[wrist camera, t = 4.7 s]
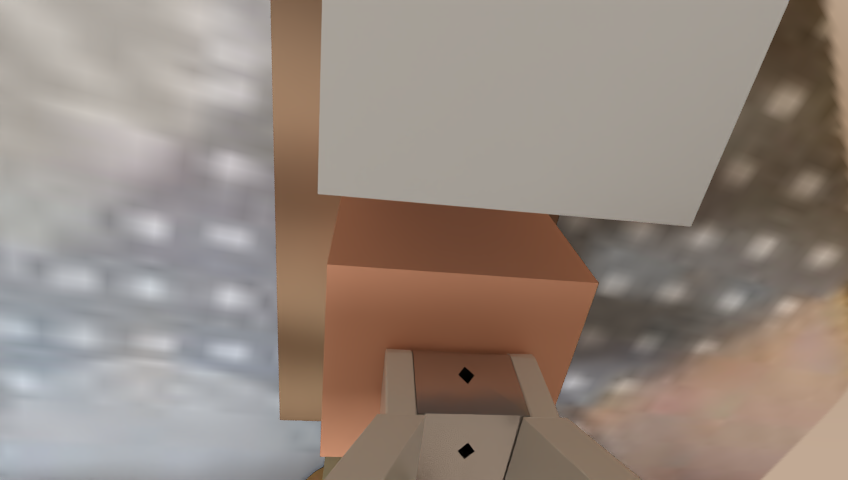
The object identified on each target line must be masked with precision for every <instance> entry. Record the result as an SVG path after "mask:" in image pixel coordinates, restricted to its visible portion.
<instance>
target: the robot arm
mask: <svg viewBox="0 0 848 480" xmlns="http://www.w3.org/2000/svg"><path fill="white" fill-rule="evenodd" d="M324 480H642V479H640V478H639V477H638V476H637V475H636V474H634V473H633V472H632V471H631V470H630V469H628V468H627V467H626V466H625V465H624V464H622V463H621V462H620V461H619V460H618V459H616V458H615V457H614V456H613V455H611V454H610V453H609V452H608V451H607V450H605V449H604V448H603V447H602V446H601V445H599V444H598V443H597V442H596V441H595V440H593V439H592V438H591V437H590V436H589V435H587V434H586V433H585V432H584V431H583V430H581V429H580V428H579V427H578V426H577V425H575V424H574V423H573V422H572V421H571V420H569V419H568V418H560V417H559V414H558V412H557V409H556V407H555V404H554V402H553V400H552V397H551V395H550V392H549V390H548V387H547V385H546V383H545V380H544V378H543V375H542V373H541V370H540V368H539V366H538V363H537V361H536V358H535V357H534V356H533V355H532V354H490V353H458V352H441V351H425V350H412V351H411V350H400V349H386V351H385V358H384V369H383V379H382V390H381V404H380V414H377V415H376V416H375V418H374V419H373V420H372V421H371V423H370V424H369V425H368V426H367V427H366V429H365V430H364V431H363V432H362V434H361V435H360V436H359V437H358V439H357V440H356V441H355V442H354V443H353V445H352V446H351V447H350V448H349V450H348V451H347V452H346V453H345V455H344V456H343V457H342V458H341V459H340V461H339V462H338V463H337V464H336V466H335V467H334V468H333V469H332V471H331V472H330V473H329V474H328V475H327V477H326V478H325V479H324Z"/></svg>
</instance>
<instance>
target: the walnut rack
mask: <svg viewBox="0 0 848 480" xmlns="http://www.w3.org/2000/svg"><path fill="white" fill-rule="evenodd" d="M321 27H322V0H271V42H272V87H273V132H274V176H275V221H276V266H277V310H278V355H279V399H280V420H302V421H321V419H322V391H323V363H324V335H325V307H326V279H327V262H328V258H329V253H330V248H331V243H332V238H333V234H334V229H335V224H336V219H337V215H338V210H339V205H340V200H341V196H335V195H324V194H318V157H319V114H320V70H321ZM548 215H549V216H550V217H551V219H552V220H553V221H554V223H555V224H556V225H557V221H558V218H559V215H553V214H548Z"/></svg>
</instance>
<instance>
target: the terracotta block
mask: <svg viewBox="0 0 848 480" xmlns="http://www.w3.org/2000/svg"><path fill="white" fill-rule="evenodd" d="M598 284H599V283H598V281H597V280H596V279H595V277H594V276H593V275H592V273H591V272H590V271H589V269H588V268H587V266H586V265H585V264H584V262H583V261H582V260H581V258H580V257H579V256H578V254H577V253H576V251H575V250H574V249H573V247H572V246H571V245H570V243H569V242H568V241H567V239H566V238H565V236H564V235H563V234H562V232H561V231H560V230H559V228H558V227H557V225H556V224H555V223H554V221H553V220H552V219H551V217H550V216H549V215H548V214H541V213H530V212H519V211H507V210H496V209H484V208H473V207H461V206H450V205H438V204H427V203H415V202H404V201H393V200H381V199H370V198H358V197H347V196H341V200H340V205H339V210H338V215H337V219H336V224H335V229H334V234H333V238H332V243H331V248H330V253H329V258H328V262H327V279H326V307H325V335H324V363H323V391H322V419H321V447H320V457H343V456H344V455H345V453H346V452H347V451H348V450H349V448H350V447H351V446H352V445H353V443H354V442H355V441H356V440H357V439H358V437H359V436H360V435H361V434H362V432H363V431H364V430H365V429H366V427H367V426H368V425H369V424H370V423H371V421H372V420H373V419H374V418H375V416H376V415H377V414H380V404H381V390H382V379H383V369H384V358H385V351H386V349H400V350H411V351H412V350H425V351H441V352H458V353H490V354H532V355H533V356H534V357H535V358H536V361H537V363H538V366H539V368H540V370H541V373H542V375H543V378H544V380H545V383H546V385H547V387H548V390H549V392H550V395H551V397H552V400H553V402H554V404H555V405H556V402H557V399H558V396H559V394H560V391H561V388H562V385H563V382H564V380H565V377H566V374H567V371H568V368H569V366H570V363H571V360H572V357H573V354H574V352H575V349H576V346H577V343H578V340H579V337H580V335H581V332H582V329H583V326H584V323H585V321H586V318H587V315H588V312H589V309H590V307H591V304H592V301H593V298H594V295H595V293H596V290H597V287H598Z"/></svg>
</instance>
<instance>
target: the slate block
mask: <svg viewBox="0 0 848 480" xmlns="http://www.w3.org/2000/svg"><path fill="white" fill-rule="evenodd" d="M788 2H789V0H322V27H321V70H320V114H319V157H318V194H324V195H335V196H347V197H358V198H370V199H381V200H393V201H404V202H415V203H427V204H438V205H450V206H461V207H473V208H484V209H496V210H507V211H519V212H530V213H541V214H553V215H564V216H576V217H587V218H599V219H610V220H622V221H633V222H644V223H656V224H667V225H679V226H690V227H691V225H692V223H693V221H694V218H695V216H696V214H697V211H698V209H699V207H700V204H701V202H702V200H703V198H704V195H705V193H706V191H707V188H708V186H709V184H710V182H711V179H712V177H713V175H714V172H715V170H716V168H717V165H718V163H719V161H720V159H721V156H722V154H723V152H724V149H725V147H726V145H727V142H728V140H729V138H730V136H731V133H732V131H733V129H734V126H735V124H736V122H737V120H738V117H739V115H740V113H741V110H742V108H743V106H744V103H745V101H746V99H747V97H748V94H749V92H750V90H751V87H752V85H753V83H754V80H755V78H756V76H757V74H758V71H759V69H760V67H761V64H762V62H763V60H764V57H765V55H766V53H767V51H768V48H769V46H770V44H771V41H772V39H773V37H774V35H775V32H776V30H777V28H778V25H779V23H780V21H781V18H782V16H783V14H784V12H785V9H786V7H787V5H788Z"/></svg>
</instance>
